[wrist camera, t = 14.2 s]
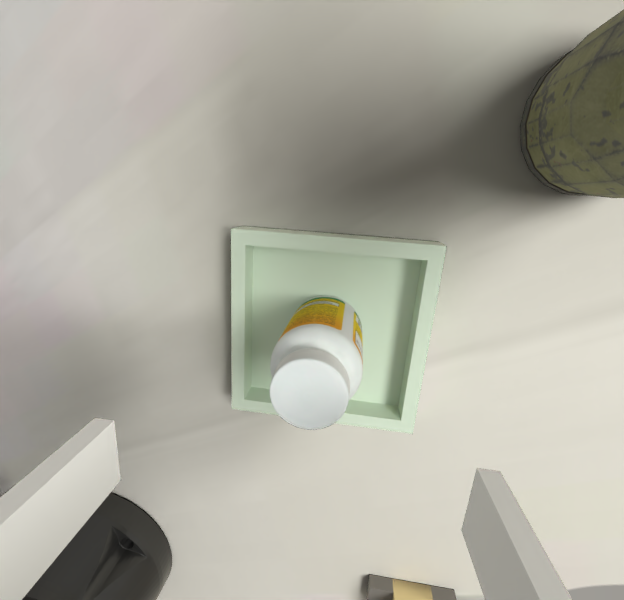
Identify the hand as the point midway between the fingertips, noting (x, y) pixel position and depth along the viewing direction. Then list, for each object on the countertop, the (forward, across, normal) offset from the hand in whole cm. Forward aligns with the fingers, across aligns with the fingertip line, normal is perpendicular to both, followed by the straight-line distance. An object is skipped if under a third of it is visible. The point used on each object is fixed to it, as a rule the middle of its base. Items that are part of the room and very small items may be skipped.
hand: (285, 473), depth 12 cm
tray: (+15, +1, 0) cm, 15 cm away
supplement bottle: (+14, 0, 0) cm, 15 cm away
